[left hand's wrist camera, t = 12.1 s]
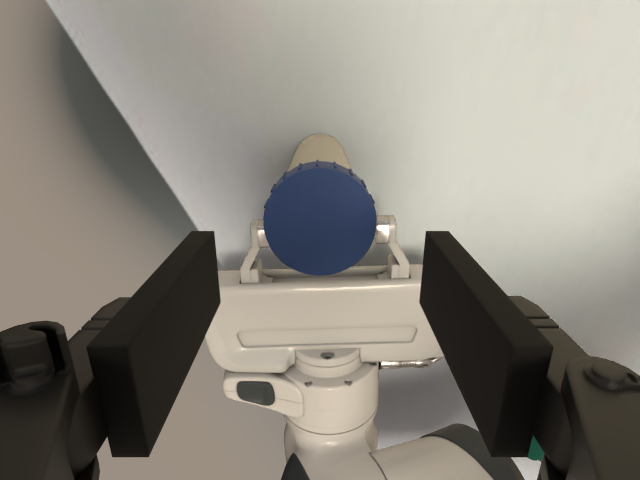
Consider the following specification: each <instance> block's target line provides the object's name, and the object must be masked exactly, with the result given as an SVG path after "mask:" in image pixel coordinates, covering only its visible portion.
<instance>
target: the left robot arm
mask: <svg viewBox="0 0 640 480" xmlns="http://www.w3.org/2000/svg"><path fill="white" fill-rule="evenodd" d="M220 303H221V299H220V289H219V278H218V268H217V257H216V247H215V237H214V231H191V232H190V233H189V235H188V236H187V237H186V238H185V239H184V240H183V241H182V242H181V243H180V244H179V246H178V247H177V248H176V249H175V250H174V251H173V252H172V253H171V254H170V255H169V257H168V258H167V259H166V260H165V261H164V262H163V263H162V264H161V265H160V266H159V267H158V269H157V270H156V271H155V272H154V273H153V274H152V275H151V276H150V277H149V278H148V280H147V281H146V282H145V283H144V284H143V285H142V286H141V287H140V288H139V289H138V290H137V292H136V293H135V294H134V295H133V296H132V297H120V298H118V299H116V300H114V301H112V302H110V303H109V304H107V305H105V306H103V307H102V308H101V309H100V310H99V311H98V312H97V313H96V314H95V315H94V316H93V317H92V318H91V321H88V322H87V323H86V324H85V325H84V326H83V327H82V329H81V330H79V331H78V332H77V333H76V334H75V335H74V336H73V337H72V338H71V339H70V340H69V341H67V337H66V333H65V329H64V326H62V325H61V324H59V323H58V322H51V321H39V322H30V323H26V324H22V325H18V326H14V327H12V328H9V329H7V330H4V331H1V332H0V480H99V474H100V469H99V462H98V458H97V452H98V451H99V449H100V447H101V446H102V444H103V442H104V441H105V439H106V438H107V437H108V441H109V445H110V449H111V454H112V457H149V455H150V453H151V451H152V449H153V446H154V444H155V442H156V440H157V438H158V436H159V434H160V432H161V429H162V427H163V425H164V423H165V421H166V419H167V417H168V414H169V412H170V410H171V408H172V406H173V404H174V402H175V399H176V397H177V395H178V393H179V391H180V389H181V387H182V385H183V382H184V380H185V378H186V376H187V374H188V372H189V370H190V367H191V365H192V363H193V361H194V359H195V357H196V355H197V352H198V350H199V348H200V346H201V344H202V342H203V340H204V337H205V335H206V333H207V331H208V329H209V327H210V325H211V323H212V320H213V318H214V316H215V314H216V312H217V310H218V308H219V305H220ZM419 303H420V305H421V308H422V310H423V312H424V314H425V316H426V318H427V320H428V323H429V325H430V327H431V329H432V331H433V333H434V335H435V337H436V340H437V342H438V344H439V346H440V348H441V350H442V352H443V355H444V357H445V359H446V361H447V363H448V365H449V367H450V370H451V372H452V374H453V376H454V378H455V380H456V382H457V385H458V387H459V389H460V391H461V393H462V395H463V397H464V400H465V402H466V404H467V406H468V408H469V410H470V412H471V414H472V417H473V419H474V421H475V423H476V425H477V427H478V429H479V432H480V434H481V436H482V438H483V440H484V442H485V444H486V447H487V449H488V451H489V453H490V455H491V457H528V454H529V449H530V445H531V441H532V437H533V435H534V437H535V439H536V440H537V442H538V444H539V445H540V447H541V448H542V450H543V452H544V454H543V458H542V462H541V466H540V470H539V474H538V478H537V480H640V376H639V375H638V374H636V373H635V372H633V371H632V370H630V369H629V368H627V367H624V366H622V365H620V364H618V363H616V362H613V361H610V360H606V359H602V358H599V357H590V356H589V355H588V354H587V353H586V352H585V351H584V350H583V349H581V348H580V347H579V346H578V345H577V344H576V343H575V342H574V341H573V340H572V339H571V338H570V337H569V336H568V335H567V334H566V333H565V332H564V331H563V330H562V329H559V326H558V325H557V324H556V323H555V322H554V321H553V320H552V319H549V316H548V315H547V314H546V313H545V312H544V311H543V310H542V309H541V308H540V307H539V306H538V305H536V304H534V303H532V302H531V301H529V300H527V299H525V298H523V297H521V296H507V295H506V294H505V293H504V292H503V290H502V289H501V288H500V287H499V286H498V285H497V284H496V283H495V282H494V281H493V280H492V278H491V277H490V276H489V275H488V274H487V273H486V272H485V271H484V270H483V269H482V267H481V266H480V265H479V264H478V263H477V262H476V261H475V260H474V259H473V258H472V257H471V255H470V254H469V253H468V252H467V251H466V250H465V249H464V248H463V247H462V246H461V244H460V243H459V242H458V241H457V240H456V239H455V238H454V237H453V236H452V235H451V233H450V232H449V231H426V237H425V247H424V257H423V268H422V278H421V289H420V299H419Z"/></svg>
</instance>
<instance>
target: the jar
mask: <svg viewBox="0 0 640 480" xmlns="http://www.w3.org/2000/svg"><path fill="white" fill-rule="evenodd" d="M316 160H319V161H326V162H332V163H333V162H334V161H335V162H336V164H339V165H341V166H343V167H345V168H347V169H349V168H350V169H351V167H350V164H349V162H348V159H347V157H346V154H345V152H344V149H343V147H342V146H341V144H340V143H339V142H338V141H337V140H336V139H334V138H333V137H331V136H329V135H325V134H315V135H311V136H309V137H307V138H306V139H304V140H303V141H302V142H301V143H300V144H299V146H298V147H297V149H296V152H295V154H294V157H293V159H292V162H291V164H290V167H289V169H288V171H290V170H291V169H293V168H295V167H297V166H299V163H302V164H304V163H308V162H313V161H316ZM351 170H352V169H351Z"/></svg>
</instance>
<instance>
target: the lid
mask: <svg viewBox="0 0 640 480" xmlns="http://www.w3.org/2000/svg"><path fill="white" fill-rule="evenodd" d="M373 203H374V200H373V198H372V196H371V194H369V193H368V191H367V189H366V185H365V183H364V181H363V180H360V179H359V178H358V177H357V176H356V175H355V174H354V173H353V172H352V170H351V169H350V168H349V169H347V168H345V167H343V166H341V165H339V164H336V162H335V161H334V162H333V163H332V162H326V161H319V160H316V161H313V162H308V163H304V164H302V163H299V166H297V167H295V168H293V169H291V170H290V171H288V172H285V173H284V175H283V176H282V178H281V179H280V180H279V181H278V182H277V184H274V186H273V188H272V190H271V195H270V198H269V199H268V200H267V202H266V204H265V206H264V208H265V211H264V221H263V225H264V232H265V236H266V239H267V242H268V244H269V246H270V248H271V250H272V251H273V252H274V254H275V255H276V256H277V257H278V258H279V259H280V260H281V261H282V262H283V263H284V264H286V265H287V266H288V267H290V268H292V269H294V270H296V271H298V272H301V273H304V274H308V275H316V276H324V275H332V274H336V273H339V272H342V271H344V270H346V269H348V268H350V267H352V266H353V265H354V264H356V263H357V262H358V261H359V260H360V259H361V258H362V257H363V256H364V255H365V254H366V252H367V251H368V249H369V248H370V246H371V244H372V242H373V239H374V236H375V232H376V225H377V223H376V220H377V217H376V211H375V208H374V204H373Z"/></svg>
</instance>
